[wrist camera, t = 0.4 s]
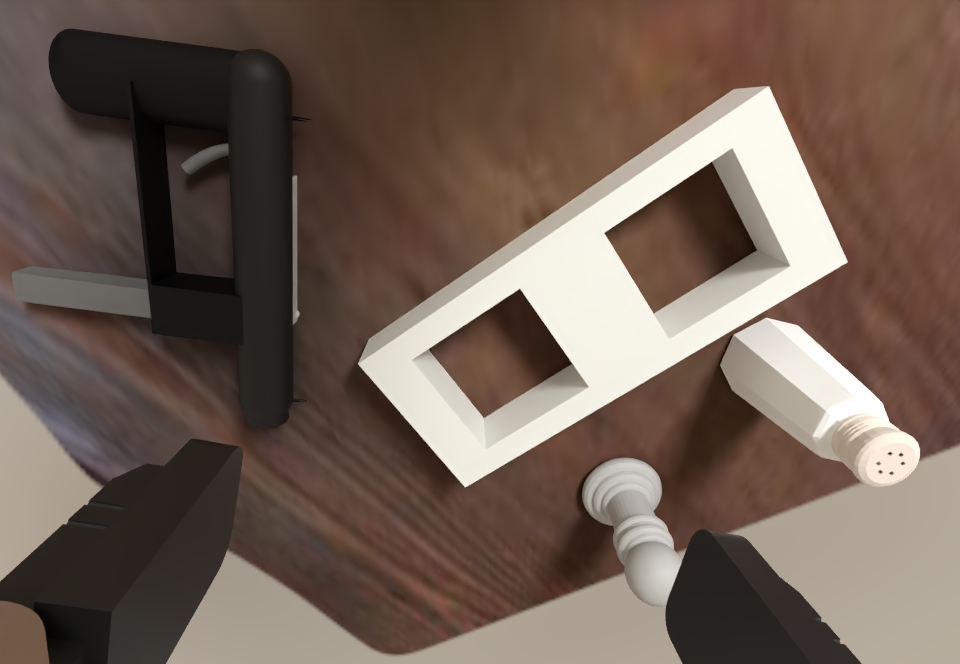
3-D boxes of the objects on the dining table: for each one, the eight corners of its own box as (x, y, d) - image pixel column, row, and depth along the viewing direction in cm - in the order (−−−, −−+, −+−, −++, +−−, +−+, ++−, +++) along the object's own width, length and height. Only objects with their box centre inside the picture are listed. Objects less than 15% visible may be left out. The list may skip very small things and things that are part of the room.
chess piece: (673, 492, 37) (732, 600, 29) (608, 531, 39) (647, 646, 30) (631, 440, 36) (681, 539, 27) (565, 483, 37) (593, 590, 29)
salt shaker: (760, 411, 35) (880, 532, 25) (700, 366, 34) (801, 475, 24) (825, 348, 34) (981, 451, 23) (765, 299, 32) (903, 385, 22)
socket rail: (733, 89, 28) (768, 86, 25) (808, 246, 31) (847, 262, 28) (368, 339, 33) (357, 364, 29) (465, 453, 36) (465, 487, 33)
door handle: (24, 401, 31) (301, 436, 32) (-59, 5, 24) (302, 53, 24) (67, 375, 35) (319, 408, 35) (5, 18, 27) (325, 60, 27)
